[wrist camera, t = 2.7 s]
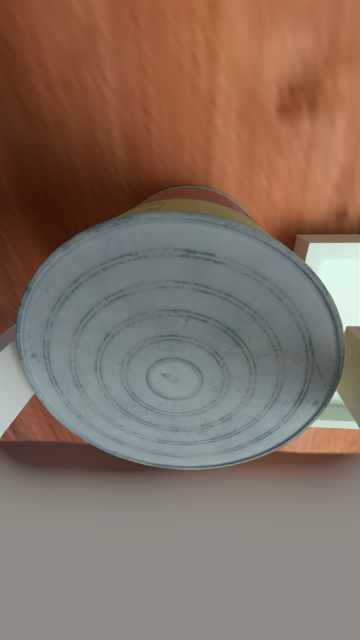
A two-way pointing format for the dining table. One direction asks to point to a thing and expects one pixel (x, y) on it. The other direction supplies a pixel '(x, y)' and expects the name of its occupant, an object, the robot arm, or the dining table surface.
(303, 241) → the tray
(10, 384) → the robot arm
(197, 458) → the canned food
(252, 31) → the dining table surface
